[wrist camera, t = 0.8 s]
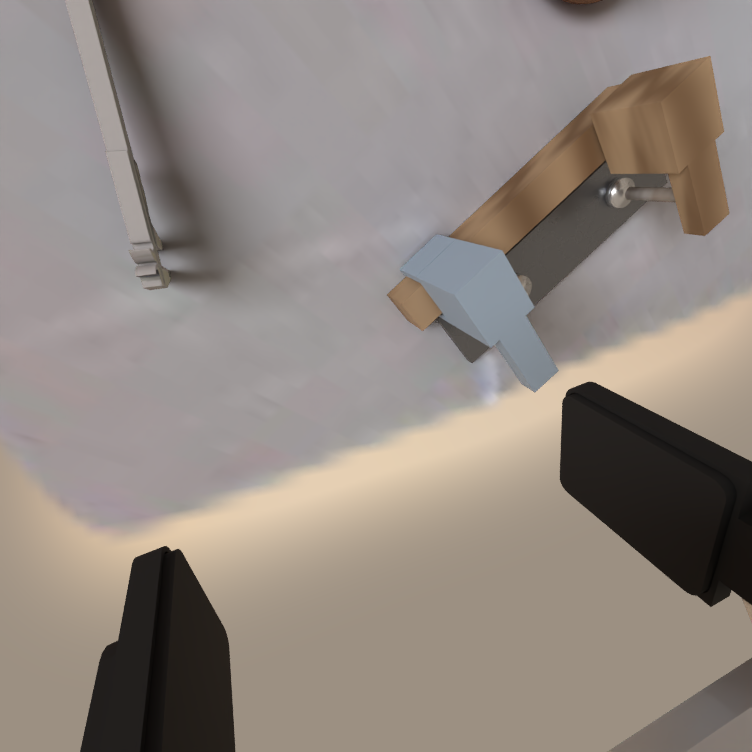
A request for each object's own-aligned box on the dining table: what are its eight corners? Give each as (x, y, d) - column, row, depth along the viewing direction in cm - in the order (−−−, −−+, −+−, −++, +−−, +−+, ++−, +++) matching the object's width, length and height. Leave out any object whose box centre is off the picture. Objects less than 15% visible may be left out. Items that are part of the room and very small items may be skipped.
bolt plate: (641, 122, 36) (658, 119, 35) (658, 182, 39) (675, 182, 38) (433, 316, 37) (442, 321, 35) (467, 360, 40) (476, 366, 39)
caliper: (172, 276, 29) (165, 299, 23) (154, 279, 29) (143, 303, 23) (47, -171, 20) (-12, -303, 14) (19, -175, 19) (-53, -312, 14)
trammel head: (436, 234, 34) (502, 250, 26) (498, 328, 39) (566, 363, 32) (399, 269, 34) (454, 295, 26) (466, 358, 39) (527, 399, 32)
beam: (603, 74, 33) (722, 44, 26) (641, 192, 39) (747, 196, 31) (379, 285, 34) (430, 317, 26) (448, 371, 40) (507, 417, 32)
